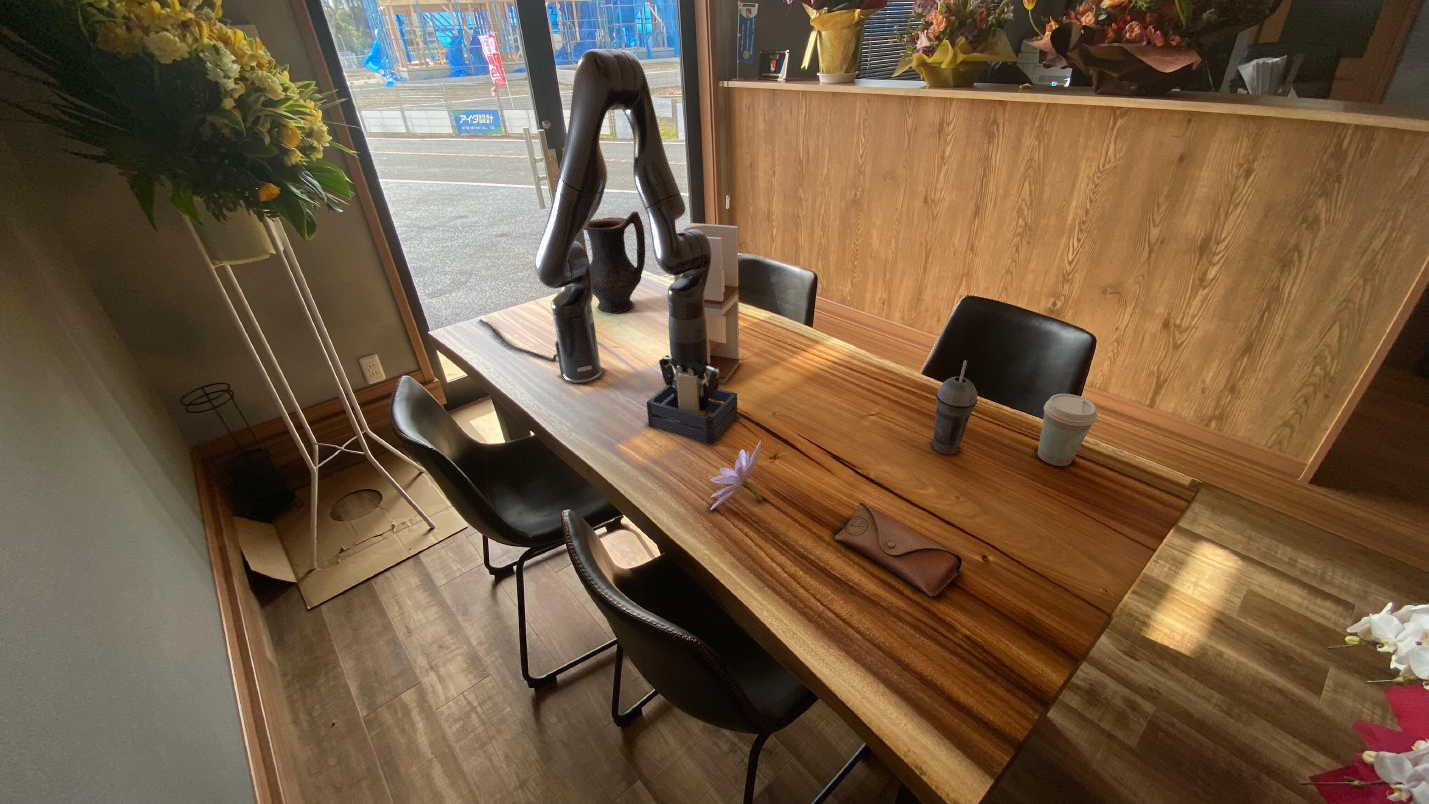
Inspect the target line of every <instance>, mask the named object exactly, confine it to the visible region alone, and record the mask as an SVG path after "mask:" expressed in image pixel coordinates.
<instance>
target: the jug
mask: <svg viewBox="0 0 1429 804" xmlns="http://www.w3.org/2000/svg"><path fill="white" fill-rule="evenodd" d="M640 216H641V215H640V214H639V212H638V211H632V212H631V213H630V214H629V215H628V216H627V217H626V218H624V217H603V218H595V219H591V220H590V222H589V223H588V224H587V225H586V227H585V228H584V229H583V230H582V231H586V233H587V236H588V238H589V241H590V249H591V254H592V255H591V256H592V257H591V258H592V259H591V261H590V269H591V280H592V290H593V296H594V297H595V298H596V299H597V301H598V304H597V309H598V310H599V311H601V312H603V313H608V314H609V313H610V314H611V313H612V314H616V313H622V312H626V311H629V310H631V309H632V308H633V306H634V303H633V301H632V300H631V297H632V295H633V293H634V291H635V290H636V288H637V286H639V284H640V282H641V280H642V275H643V271H644V268H645V263H646V262H645V261H646V237H645V228H644V224H643V221H642V218H641V217H640ZM632 224H633V227H634V230H635V236H636V237H635V238H636V266H635V265H634V264H633V262H631V260H630V259H629V257H628V255H627V252H626V251H627V250H626V243H625V233H626V232H625V231H626V229H627V228H628V227H629V226H630V225H632Z"/></svg>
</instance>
